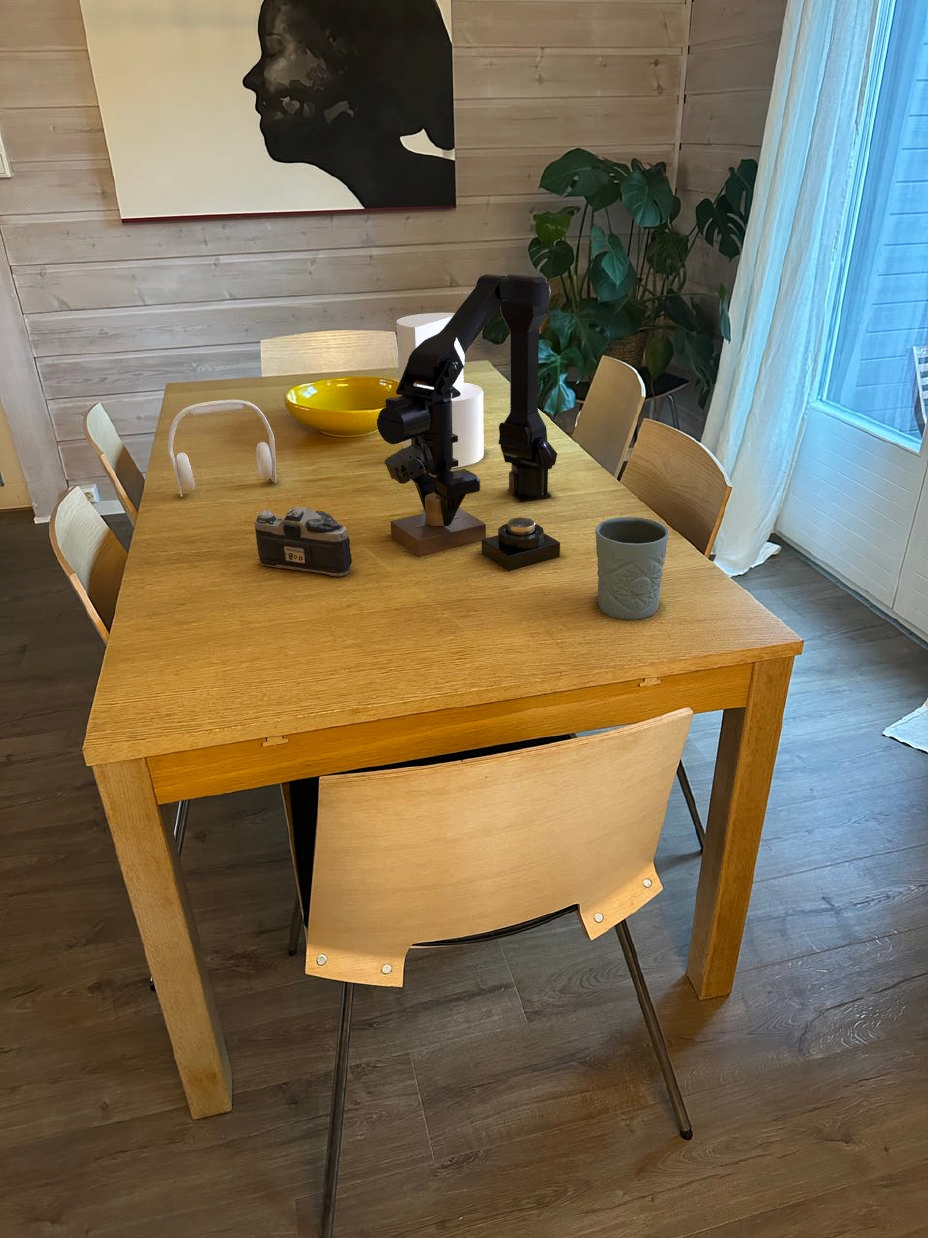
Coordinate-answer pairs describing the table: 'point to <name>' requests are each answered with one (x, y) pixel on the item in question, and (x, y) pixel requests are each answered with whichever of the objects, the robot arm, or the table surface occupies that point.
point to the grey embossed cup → (630, 566)
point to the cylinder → (471, 399)
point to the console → (437, 533)
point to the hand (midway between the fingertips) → (437, 519)
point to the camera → (303, 542)
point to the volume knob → (433, 510)
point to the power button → (520, 527)
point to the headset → (263, 453)
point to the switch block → (520, 548)
